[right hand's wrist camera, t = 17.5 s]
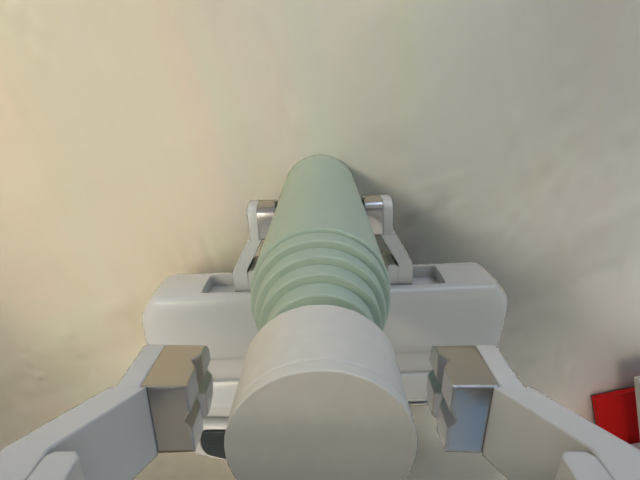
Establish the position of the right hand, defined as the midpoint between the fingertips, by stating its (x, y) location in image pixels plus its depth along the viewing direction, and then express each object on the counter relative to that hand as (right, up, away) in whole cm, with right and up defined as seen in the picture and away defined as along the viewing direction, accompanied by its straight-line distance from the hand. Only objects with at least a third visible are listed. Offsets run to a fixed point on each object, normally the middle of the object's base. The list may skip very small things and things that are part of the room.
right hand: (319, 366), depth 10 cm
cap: (0, -1, -2) cm, 2 cm away
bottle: (0, +6, +17) cm, 18 cm away
